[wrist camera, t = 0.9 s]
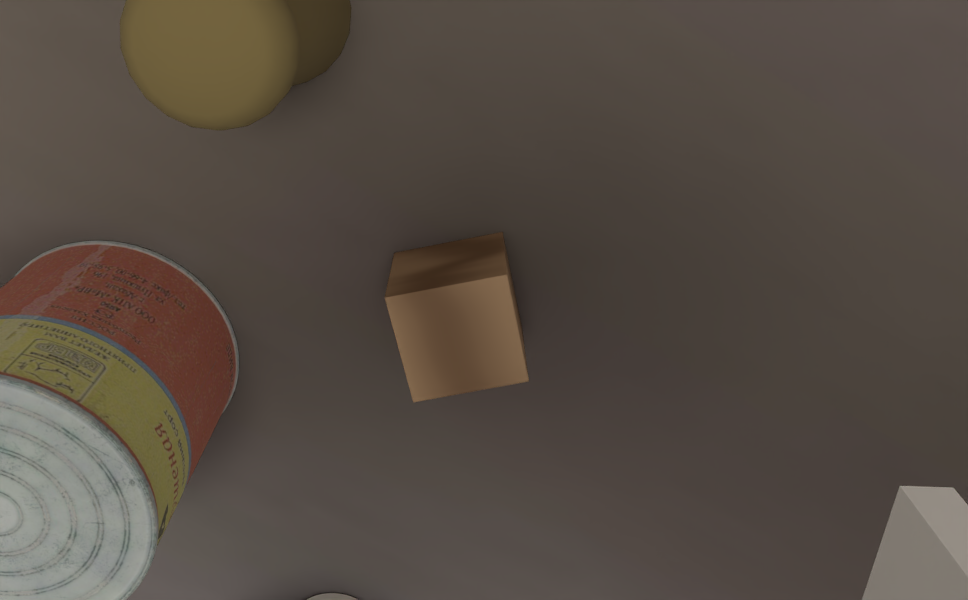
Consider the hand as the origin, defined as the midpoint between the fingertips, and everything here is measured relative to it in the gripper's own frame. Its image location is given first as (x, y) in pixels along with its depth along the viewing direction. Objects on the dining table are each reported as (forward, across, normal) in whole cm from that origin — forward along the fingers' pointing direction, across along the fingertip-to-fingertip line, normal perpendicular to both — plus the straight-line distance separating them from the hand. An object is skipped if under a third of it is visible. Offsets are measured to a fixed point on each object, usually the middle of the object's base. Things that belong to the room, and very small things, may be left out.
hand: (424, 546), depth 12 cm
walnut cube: (+27, -1, +8) cm, 28 cm away
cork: (+27, +7, -4) cm, 28 cm away
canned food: (+27, +15, +12) cm, 33 cm away
